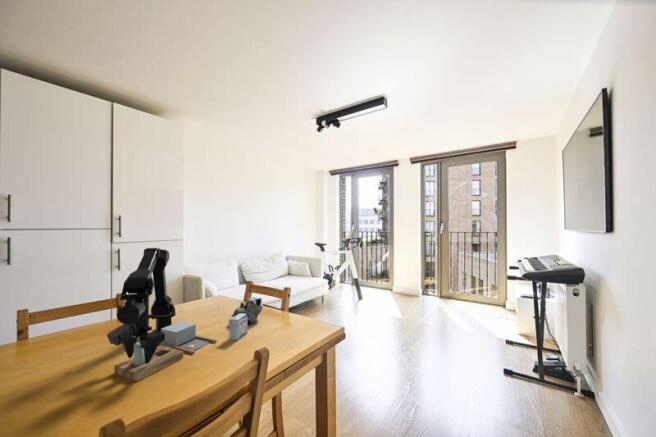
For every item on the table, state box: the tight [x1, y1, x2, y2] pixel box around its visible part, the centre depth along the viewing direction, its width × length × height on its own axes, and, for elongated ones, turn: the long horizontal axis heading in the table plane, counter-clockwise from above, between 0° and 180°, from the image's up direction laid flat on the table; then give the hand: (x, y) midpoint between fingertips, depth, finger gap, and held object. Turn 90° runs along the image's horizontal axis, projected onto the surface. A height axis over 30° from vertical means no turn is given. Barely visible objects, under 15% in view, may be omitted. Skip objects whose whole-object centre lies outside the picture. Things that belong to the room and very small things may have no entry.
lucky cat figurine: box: [230, 296, 264, 325], centre depth 138 cm, size 15×12×14 cm
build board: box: [113, 345, 184, 382], centre depth 95 cm, size 12×16×2 cm
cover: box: [161, 320, 197, 347], centre depth 114 cm, size 9×9×6 cm
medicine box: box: [228, 313, 248, 341], centre depth 119 cm, size 8×4×9 cm, turn 168°
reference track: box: [158, 334, 217, 355], centre depth 112 cm, size 20×11×1 cm, turn 66°
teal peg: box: [133, 341, 145, 368], centre depth 91 cm, size 3×3×9 cm
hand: (138, 360), depth 91 cm, fingers open, 9 cm apart
